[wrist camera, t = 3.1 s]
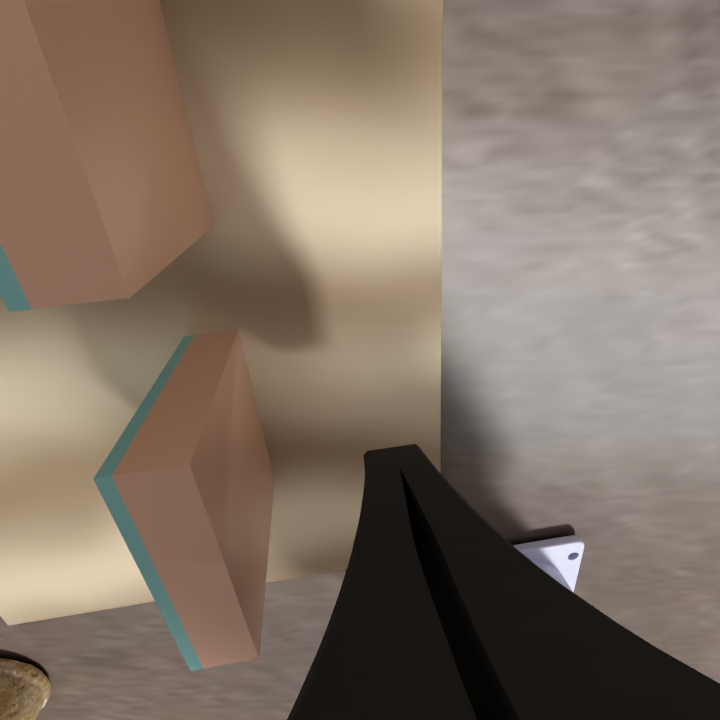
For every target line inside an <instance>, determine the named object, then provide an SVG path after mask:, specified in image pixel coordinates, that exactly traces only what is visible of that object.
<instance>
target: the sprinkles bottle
mask: <svg viewBox="0 0 720 720" xmlns="http://www.w3.org/2000/svg"><path fill="white" fill-rule="evenodd" d="M50 694H51V685H50V681H49V679H48V678H47V677H46V676H45V675H44V673H43V672H42V671H41V670H39V669H38V668H36V667H34V666H33V665H31V664H28V663H22V662H19V661H16V660H10V659H5V658H0V720H36V717H37V715H38V713H39V711H40V710H41V709H42V708H43V707H44V706H45V704H46V702H47V701H48V699H49V697H50Z"/></svg>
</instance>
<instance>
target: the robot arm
mask: <svg viewBox="0 0 720 720" xmlns="http://www.w3.org/2000/svg"><path fill="white" fill-rule="evenodd" d="M363 457H364V466H365V481H364V491H363V498H362V505H361V511H360V517H359V522H358V527H357V531H356V535H355V540H354V544H353V548H352V552H351V556H350V560H349V563H348V567H347V570H346V574H345V577H344V580H343V583H342V586H341V590H340V593H339V596H338V599H337V601H336V604H335V607H334V610H333V613H332V615H331V618H330V621H329V624H328V626H327V629H326V632H325V634H324V637H323V639H322V642H321V644H320V647H319V649H318V652H317V654H316V656H315V659H314V661H313V663H312V665H311V668H310V670H309V672H308V675H307V677H306V679H305V682H304V684H303V686H302V688H301V691H300V693H299V695H298V698H297V700H296V702H295V704H294V706H293V708H292V711H291V713H290V715H289V717H288V719H287V720H720V684H719V683H717V682H716V681H714V680H712V679H710V678H709V677H707V676H705V675H703V674H702V673H700V672H698V671H696V670H695V669H693V668H691V667H689V666H688V665H686V664H684V663H682V662H681V661H679V660H677V659H675V658H673V657H672V656H670V655H668V654H666V653H665V652H663V651H661V650H659V649H658V648H656V647H654V646H653V645H651V644H650V643H648V642H646V641H645V640H643V639H642V638H640V637H638V636H637V635H635V634H634V633H632V632H631V631H629V630H627V629H626V628H624V627H623V626H621V625H620V624H618V623H616V622H615V621H613V620H612V619H611V618H609V617H608V616H606V615H605V614H603V613H602V612H600V611H599V610H598V609H596V608H595V607H593V606H592V605H590V604H589V603H587V602H586V601H585V600H583V599H582V598H580V597H579V596H577V595H576V594H575V593H573V592H574V588H575V583H576V579H577V575H578V571H579V567H580V563H581V558H582V554H583V550H584V543H583V541H582V540H581V539H580V537H579V536H576V535H571V536H565V537H559V538H553V539H547V540H541V541H535V542H529V543H523V544H517V545H512V544H511V543H509V542H508V541H507V540H506V539H505V538H504V537H503V536H502V535H500V534H499V533H498V532H497V531H496V530H495V529H494V528H493V527H492V526H491V525H490V524H489V523H488V522H487V521H485V520H484V519H483V518H482V517H481V516H480V515H479V514H478V513H477V512H476V511H475V510H474V509H473V508H472V507H471V506H470V505H469V504H468V503H467V502H466V500H465V499H464V498H463V497H462V496H461V495H460V494H459V493H458V492H457V491H456V490H455V489H454V488H453V487H452V486H451V484H450V483H449V482H448V481H447V480H446V479H445V478H444V477H443V475H442V474H441V473H440V472H439V471H438V470H437V468H436V467H435V466H434V465H433V464H432V462H431V461H430V460H429V459H428V457H427V456H426V455H425V453H424V452H423V451H422V449H421V448H420V447H419V446H418V445H416V444H410V445H404V446H397V447H390V448H383V449H376V450H369V451H367V452H366V453H365V454H364V455H363Z"/></svg>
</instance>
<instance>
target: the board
mask: <svg viewBox="0 0 720 720" xmlns="http://www.w3.org/2000/svg"><path fill="white" fill-rule="evenodd" d="M160 5H161V9H162V13H163V17H164V21H165V25H166V30H167V34H168V38H169V42H170V46H171V50H172V55H173V59H174V63H175V67H176V71H177V75H178V80H179V84H180V88H181V92H182V96H183V100H184V105H185V109H186V113H187V117H188V121H189V125H190V130H191V134H192V138H193V142H194V146H195V150H196V155H197V159H198V163H199V167H200V171H201V175H202V180H203V184H204V188H205V192H206V196H207V200H208V205H209V209H210V213H211V217H212V221H213V225H214V226H213V227H212V228H211V229H210V230H208V231H207V232H206V233H205V234H204V235H203V236H201V237H200V238H199V239H198V240H197V241H196V242H194V243H193V244H192V245H191V246H190V247H189V248H188V249H186V250H185V251H184V252H183V253H182V254H181V255H179V256H178V257H177V258H176V259H175V260H174V261H172V262H171V263H170V264H169V265H168V266H167V267H165V268H164V269H163V270H162V271H161V272H160V273H158V274H157V275H156V276H155V277H154V278H153V279H151V280H150V281H149V282H148V283H147V284H146V285H144V286H143V287H142V288H141V289H140V290H139V291H137V292H136V293H135V294H134V295H133V296H132V297H130V298H124V299H116V300H107V301H99V302H91V303H82V304H74V305H65V306H57V307H48V308H40V309H31V310H23V311H14V312H8V310H7V308H6V306H5V304H4V302H3V300H2V298H1V296H0V616H1V617H2V618H3V620H4V621H5V622H6V623H7V625H14V624H20V623H26V622H32V621H38V620H44V619H50V618H56V617H62V616H68V615H74V614H81V613H87V612H93V611H99V610H105V609H111V608H117V607H123V606H129V605H135V604H141V603H147V602H153V601H155V600H154V598H153V596H152V594H151V592H150V590H149V588H148V586H147V584H146V582H145V580H144V578H143V576H142V574H141V572H140V570H139V568H138V567H137V565H136V563H135V561H134V559H133V557H132V555H131V553H130V551H129V549H128V547H127V545H126V543H125V541H124V539H123V537H122V535H121V533H120V531H119V529H118V527H117V525H116V523H115V521H114V519H113V517H112V515H111V513H110V511H109V509H108V507H107V505H106V503H105V501H104V499H103V497H102V495H101V493H100V491H99V490H98V488H97V486H96V484H95V482H94V480H93V478H94V477H95V475H96V474H97V472H98V471H99V469H100V467H101V466H102V464H103V463H104V461H105V460H106V458H107V457H108V455H109V453H110V452H111V450H112V449H113V447H114V446H115V444H116V442H117V441H118V439H119V438H120V436H121V435H122V433H123V431H124V430H125V428H126V427H127V425H128V424H129V422H130V420H131V419H132V417H133V416H134V414H135V413H136V411H137V409H138V408H139V406H140V405H141V403H142V402H143V400H144V398H145V397H146V395H147V394H148V392H149V391H150V389H151V388H152V386H153V384H154V383H155V381H156V380H157V378H158V377H159V375H160V373H161V372H162V370H163V369H164V367H165V366H166V364H167V362H168V361H169V359H170V358H171V356H172V355H173V353H174V351H175V350H176V348H177V347H178V345H179V344H180V342H181V340H182V339H183V337H184V336H192V335H200V334H208V333H216V332H224V331H232V330H239V334H240V338H241V342H242V346H243V350H244V355H245V359H246V363H247V367H248V371H249V375H250V380H251V384H252V388H253V392H254V396H255V400H256V405H257V409H258V413H259V417H260V421H261V425H262V430H263V434H264V438H265V442H266V446H267V450H268V455H269V459H270V463H271V467H272V471H273V475H274V480H275V483H274V495H273V506H272V517H271V529H270V540H269V552H268V563H267V574H266V583H268V582H274V581H280V580H286V579H292V578H298V577H304V576H310V575H316V574H322V573H328V572H334V571H340V570H346V569H347V567H348V563H349V560H350V556H351V552H352V548H353V544H354V540H355V535H356V531H357V527H358V522H359V517H360V511H361V505H362V498H363V491H364V481H365V466H364V457H363V455H364V454H365V453H366V452H367V451H369V450H376V449H383V448H390V447H397V446H404V445H410V444H416V445H418V446H419V447H420V448H421V449H422V451H423V452H424V453H425V455H426V456H427V457H428V459H429V460H430V461H431V462H432V464H433V465H434V466H435V467H436V468H437V470H438V471H439V472H440V473H441V256H442V26H443V0H160Z"/></svg>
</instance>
